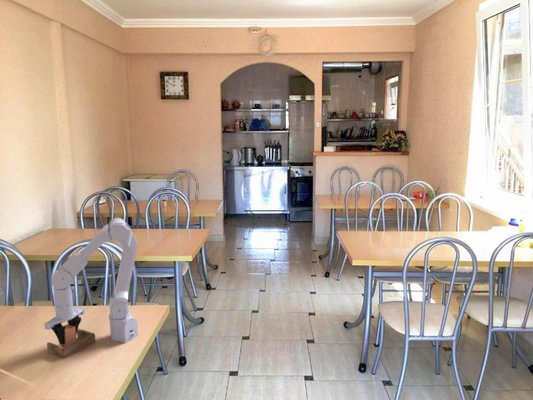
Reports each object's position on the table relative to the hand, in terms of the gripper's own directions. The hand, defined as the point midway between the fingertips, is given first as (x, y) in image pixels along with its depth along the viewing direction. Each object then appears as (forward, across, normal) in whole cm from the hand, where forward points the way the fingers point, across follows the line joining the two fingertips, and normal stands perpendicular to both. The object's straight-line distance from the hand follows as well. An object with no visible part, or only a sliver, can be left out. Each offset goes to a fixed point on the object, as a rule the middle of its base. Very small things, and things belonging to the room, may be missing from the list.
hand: (67, 340), depth 158 cm
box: (+3, 0, +2) cm, 3 cm away
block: (+1, 0, 0) cm, 1 cm away
